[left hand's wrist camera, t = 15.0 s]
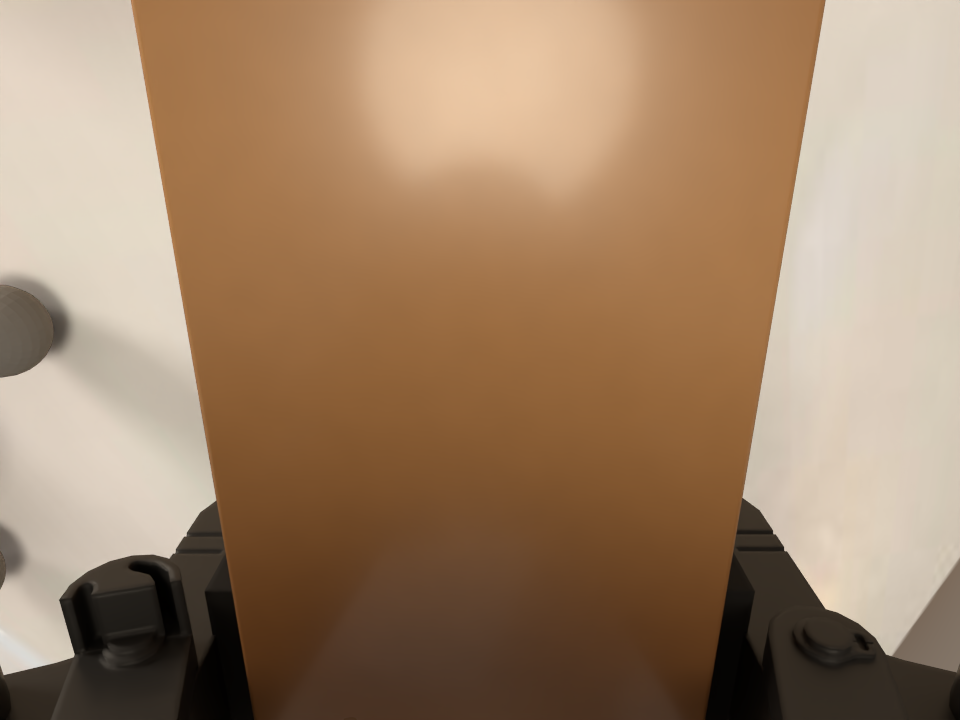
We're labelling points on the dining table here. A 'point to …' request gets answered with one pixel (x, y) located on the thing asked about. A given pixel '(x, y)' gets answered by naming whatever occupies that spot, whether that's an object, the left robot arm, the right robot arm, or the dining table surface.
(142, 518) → the dining table surface
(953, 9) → the dining table surface
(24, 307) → the molecular model
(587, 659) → the post
